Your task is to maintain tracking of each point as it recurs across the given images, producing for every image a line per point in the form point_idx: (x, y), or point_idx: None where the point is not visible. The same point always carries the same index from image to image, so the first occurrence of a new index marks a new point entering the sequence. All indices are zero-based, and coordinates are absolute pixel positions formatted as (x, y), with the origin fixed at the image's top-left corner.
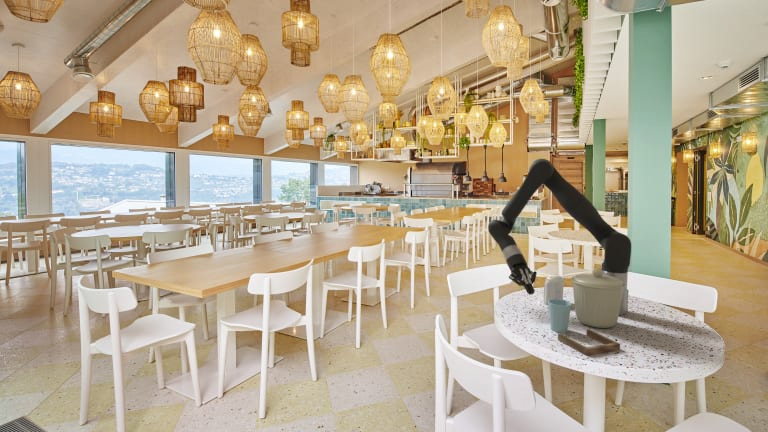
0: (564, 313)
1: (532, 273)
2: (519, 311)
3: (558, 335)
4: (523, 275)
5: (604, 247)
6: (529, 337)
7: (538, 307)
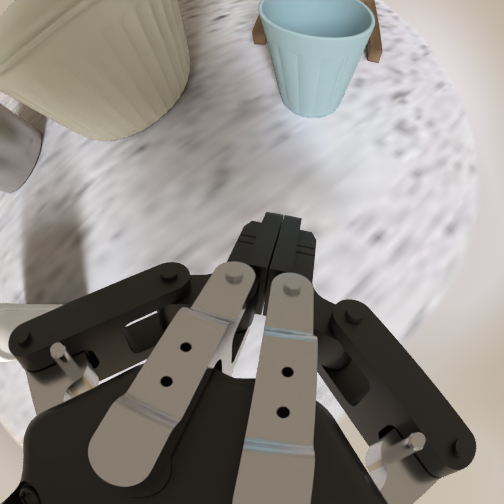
0: (329, 17)
1: (65, 356)
2: None
3: (381, 51)
4: (292, 380)
5: None
6: (448, 115)
7: None
